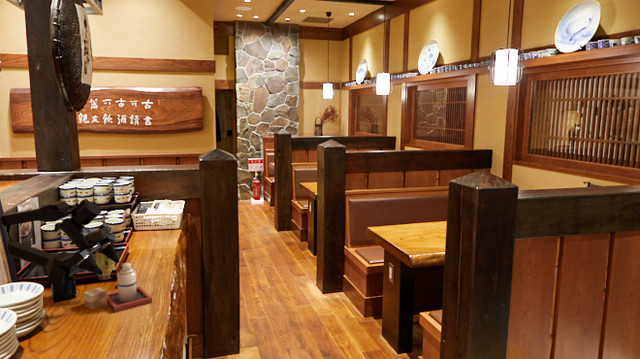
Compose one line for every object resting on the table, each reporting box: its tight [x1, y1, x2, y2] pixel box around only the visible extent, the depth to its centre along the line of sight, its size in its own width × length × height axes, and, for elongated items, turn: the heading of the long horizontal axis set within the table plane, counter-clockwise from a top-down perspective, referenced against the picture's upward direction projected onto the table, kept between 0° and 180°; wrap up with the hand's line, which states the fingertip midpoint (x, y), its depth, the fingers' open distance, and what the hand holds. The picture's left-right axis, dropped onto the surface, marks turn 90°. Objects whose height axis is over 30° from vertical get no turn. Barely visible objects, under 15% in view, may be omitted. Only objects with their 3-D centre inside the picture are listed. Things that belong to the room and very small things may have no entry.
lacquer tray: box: [107, 286, 153, 313], centre depth 143 cm, size 12×12×2 cm
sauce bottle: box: [95, 225, 116, 281], centre depth 161 cm, size 6×6×20 cm
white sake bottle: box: [116, 262, 137, 302], centre depth 142 cm, size 6×6×12 cm
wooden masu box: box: [82, 287, 108, 310], centre depth 140 cm, size 5×5×4 cm
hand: (110, 268), depth 143 cm, fingers open, 9 cm apart
